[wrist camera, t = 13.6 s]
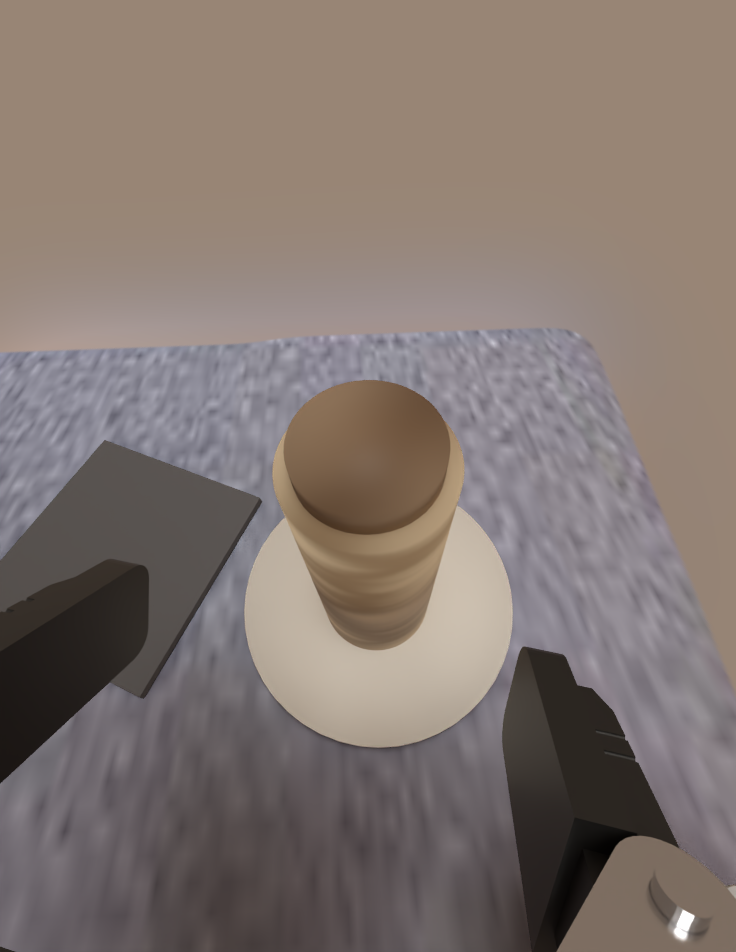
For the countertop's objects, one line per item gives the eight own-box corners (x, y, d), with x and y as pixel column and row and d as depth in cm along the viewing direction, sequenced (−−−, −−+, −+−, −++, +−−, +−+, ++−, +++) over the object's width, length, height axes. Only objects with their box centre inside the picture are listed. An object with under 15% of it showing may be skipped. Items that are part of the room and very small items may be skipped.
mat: (-32, 607, 26) (-38, 605, 25) (108, 444, 31) (104, 440, 31) (143, 698, 23) (139, 697, 23) (261, 501, 29) (260, 497, 28)
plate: (199, 674, 24) (191, 671, 22) (318, 461, 30) (316, 451, 29) (465, 803, 20) (469, 806, 19) (532, 534, 27) (538, 526, 26)
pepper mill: (307, 625, 23) (224, 492, 11) (350, 534, 26) (319, 348, 14) (406, 668, 22) (430, 570, 10) (441, 569, 25) (493, 397, 13)
